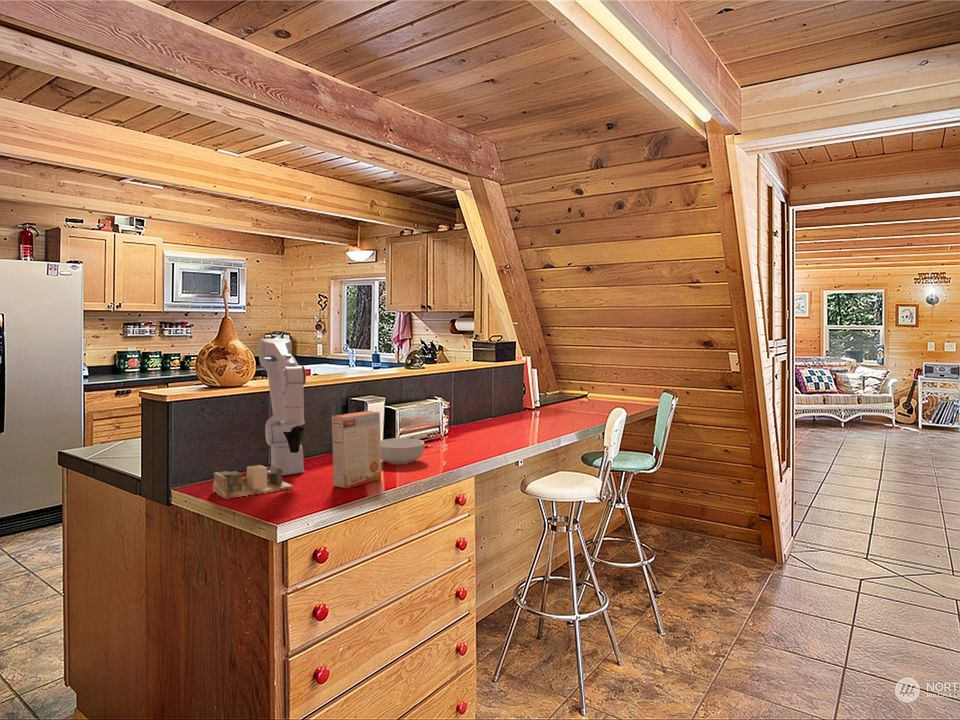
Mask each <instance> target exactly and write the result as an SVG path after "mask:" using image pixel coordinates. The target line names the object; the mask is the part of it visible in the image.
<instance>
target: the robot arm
mask: <svg viewBox="0 0 960 720" xmlns="http://www.w3.org/2000/svg"><path fill="white" fill-rule="evenodd" d="M257 344H258V346H257V348H258V349H257V351H258V358H259V364H260V366H261V367H263V369H265V371H266V374H267V377H268V387H269V395H270V401H271V409H272V410H271V411H272V416H271V417H269V419H267V420H266V421H265V422H266V423H265V425H264V427H265V431H264V433H265V434H264V435H265V441H266V444H267V445H268V446H270V458H271V459H270V462H271V465H270V466H277V467H280V468H282V476H287V475H288V476H289V475H295V474H301V473H305V472H306V471H305V469H304V465H305V464H304V449H303V446H302V444H301V443H302V438H303V435H304V433H305V431H306V426H305V427H304V426H303V425H305V424H306V423H305V422H306V421H305V407H304V405H305V402H304V401H305V400H304V396H305V395H304V386H305V384H306V383H307V382H306V381H307V372H306V369H305V366H304V365H299V364H298V361H297V360H296V358H295V357H294V356H293V355H292V351H293V345H292V340H291V339H290V338H289V337H287V338H260V339H259V341H258V343H257ZM301 426H303V427H301ZM267 474H270V469H269V470H268V469H267Z"/></svg>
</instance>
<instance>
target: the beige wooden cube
mask: <svg viewBox="0 0 960 720" xmlns="http://www.w3.org/2000/svg"><path fill="white" fill-rule="evenodd" d="M267 471H268V467H266V466H264V465H262V464H257V465H256V464H255V465H250V466H246V477H247V486H249V487H251V488H252V489H256V488H262V487H267V474H268V472H267Z"/></svg>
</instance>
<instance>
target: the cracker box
mask: <svg viewBox="0 0 960 720" xmlns="http://www.w3.org/2000/svg"><path fill="white" fill-rule="evenodd" d="M380 415H381V413H380V412H379V411H372V410H367V411H366V410H364V411H359V412H357V411H356V412H352V413H344V414H338V415H337V414H336V415H332V416H331V436H332V439H331V441H332V445H331V446H332V467H333V468H332V472H333V477H332V478H333V487H336V488H341V489H345V490H347V489H350V488H355V487H357V486H362V485H366V484H369V483H373V482H377V481H381V480H382V460H381V448H380V441H381V418H380V417H381V416H380Z"/></svg>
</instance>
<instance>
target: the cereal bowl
mask: <svg viewBox="0 0 960 720" xmlns="http://www.w3.org/2000/svg"><path fill="white" fill-rule="evenodd" d="M380 448H381V461H384V462H387V463H388V464H389V463H390V464H389V465H392V464H406V465H408V464H407V463H410V464H411V463H412V462H415V461H417V460H418V459H420V458H421V456H422V455H423V454H424V451H425V441H424V440H421V439H418V438H411V437H409V438H408V437H397V438H395V437H393V438H386V439H380Z"/></svg>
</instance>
